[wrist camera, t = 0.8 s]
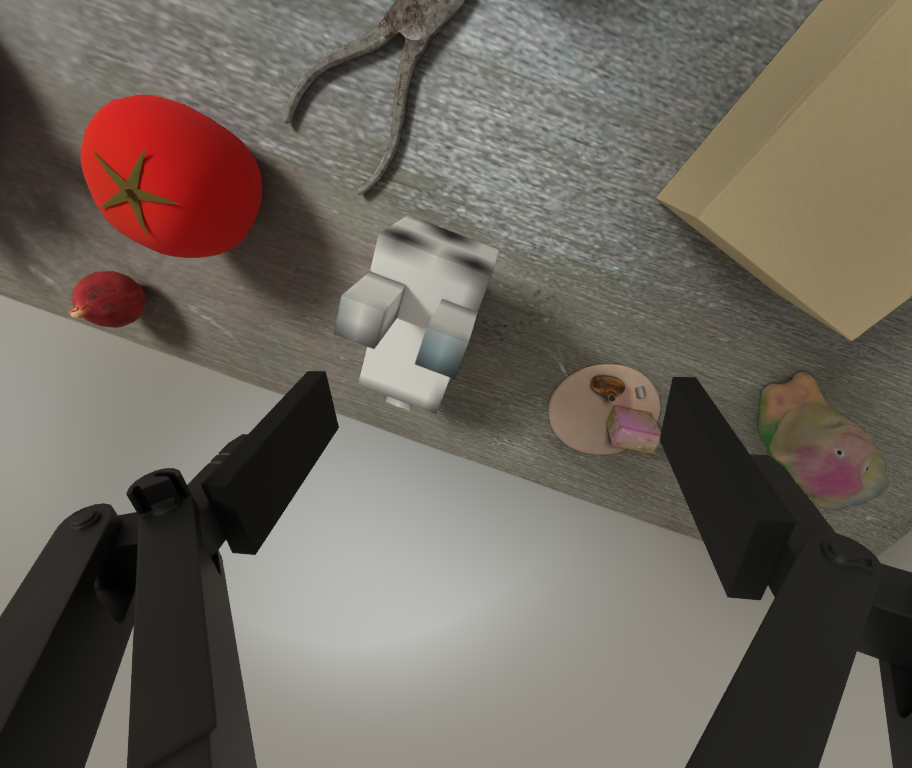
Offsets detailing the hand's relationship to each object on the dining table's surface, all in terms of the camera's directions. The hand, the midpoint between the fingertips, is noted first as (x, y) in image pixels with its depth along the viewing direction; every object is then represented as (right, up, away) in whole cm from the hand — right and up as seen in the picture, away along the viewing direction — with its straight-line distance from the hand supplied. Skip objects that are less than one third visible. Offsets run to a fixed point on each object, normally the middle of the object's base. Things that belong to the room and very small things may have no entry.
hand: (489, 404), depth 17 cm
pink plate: (+15, -2, +31) cm, 35 cm away
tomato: (-23, +21, +25) cm, 40 cm away
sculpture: (+35, -4, +29) cm, 46 cm away
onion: (-37, +12, +32) cm, 51 cm away
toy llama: (-3, +9, +28) cm, 29 cm away
